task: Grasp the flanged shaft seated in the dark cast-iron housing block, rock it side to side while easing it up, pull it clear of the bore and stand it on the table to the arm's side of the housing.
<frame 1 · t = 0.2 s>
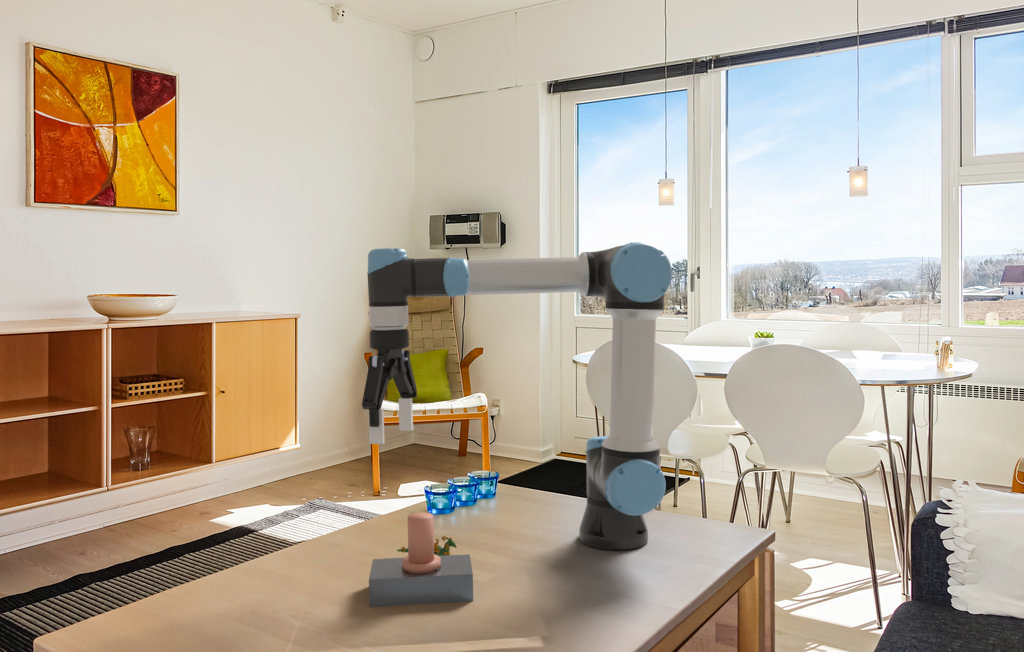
hand: (392, 436, 150), 27 cm above the table, fingers open, 13 cm apart
flanged shaft: (421, 592, 138), point 1 cm above the table, touching housing
figurine: (427, 572, 152), on the table
housing: (422, 598, 138), on the table
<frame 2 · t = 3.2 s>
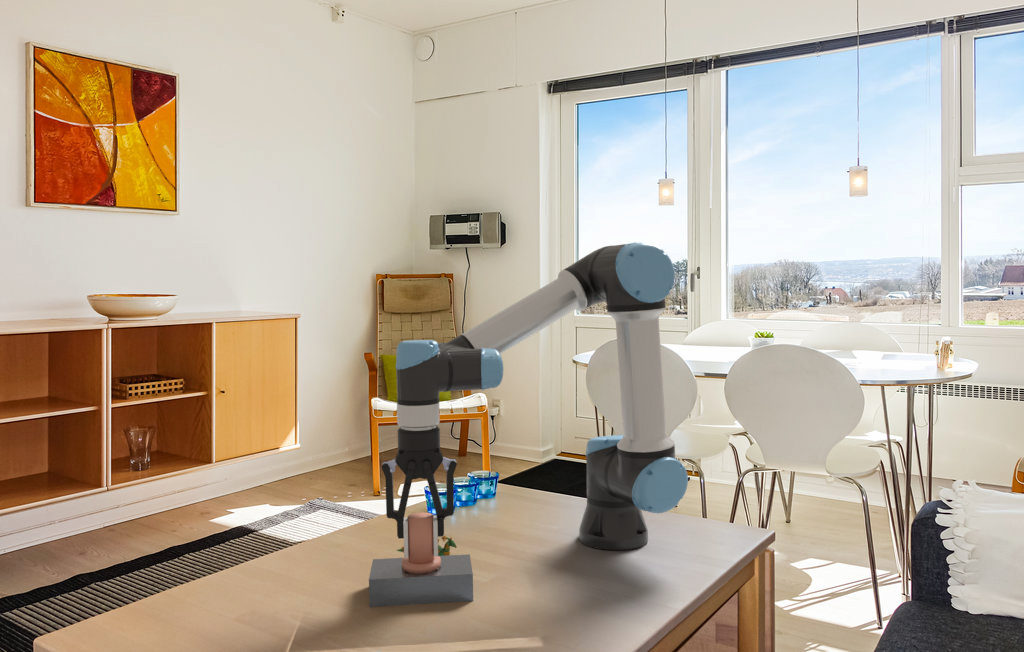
hand: (421, 554, 138), 8 cm above the table, fingers closed on flanged shaft, 5 cm apart
flanged shaft: (421, 592, 138), point 1 cm above the table, touching gripper, housing
everything else where it was.
when the fingers open (8 cm above the table, at t = 10.1 s): flanged shaft drops 1 cm, on the table.
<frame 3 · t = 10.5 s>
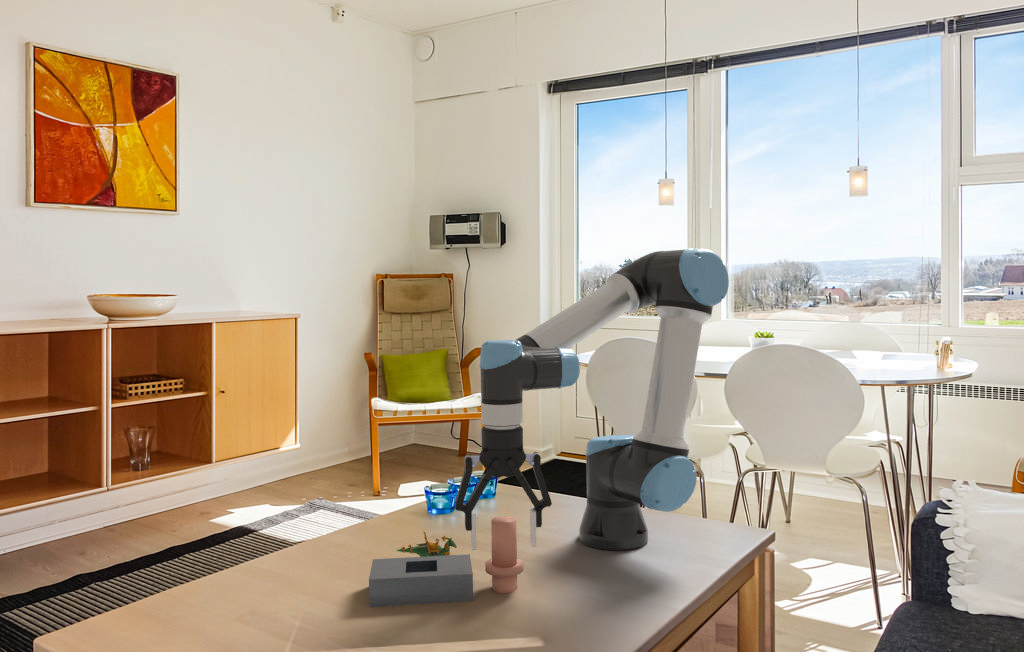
hand: (503, 546, 140), 9 cm above the table, fingers open, 10 cm apart
flanged shaft: (504, 595, 140), on the table
everything else where it was.
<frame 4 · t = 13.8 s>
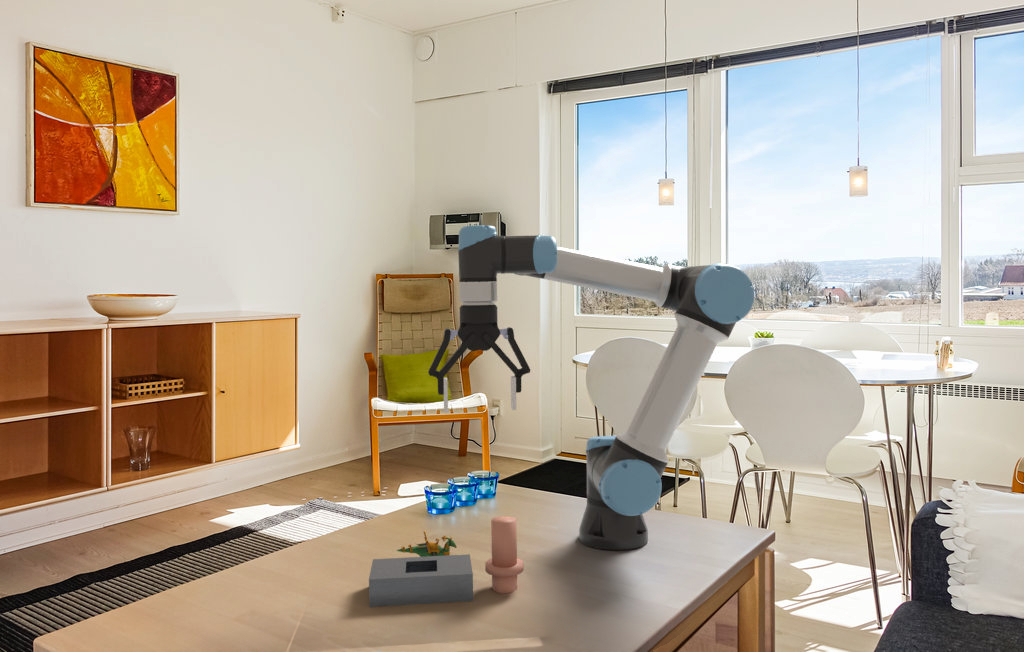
hand: (480, 410, 153), 32 cm above the table, fingers open, 13 cm apart
nothing on the table moved.
at the end: flanged shaft inside the target area (0.4 cm from its centre), on the table; flanged shaft tilted 0°; the gripper is holding nothing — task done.
